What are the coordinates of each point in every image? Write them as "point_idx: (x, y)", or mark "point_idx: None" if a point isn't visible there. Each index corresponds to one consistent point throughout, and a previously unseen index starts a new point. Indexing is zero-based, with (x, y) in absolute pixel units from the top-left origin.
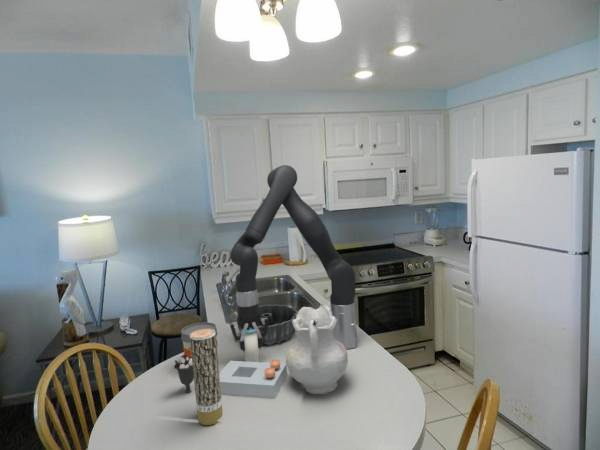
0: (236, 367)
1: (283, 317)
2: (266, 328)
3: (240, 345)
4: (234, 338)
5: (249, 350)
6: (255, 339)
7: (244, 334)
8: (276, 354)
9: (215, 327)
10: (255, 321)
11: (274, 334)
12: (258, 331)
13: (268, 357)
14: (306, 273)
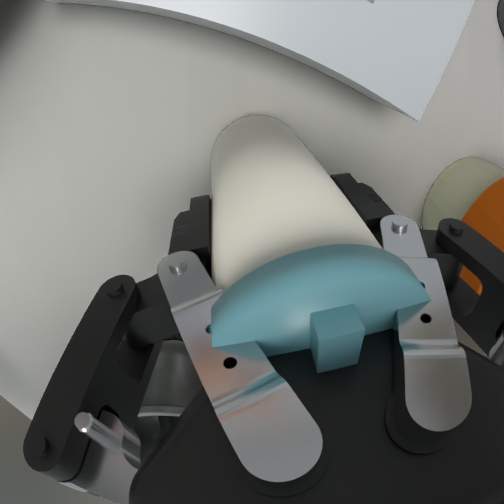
0: (390, 2)
1: (144, 442)
2: (76, 349)
3: (383, 202)
4: (475, 231)
5: (296, 151)
6: (236, 220)
7: (404, 259)
8: (130, 264)
9: None
10: (237, 481)
11: None
12: (186, 309)
13: (167, 242)
14: None
